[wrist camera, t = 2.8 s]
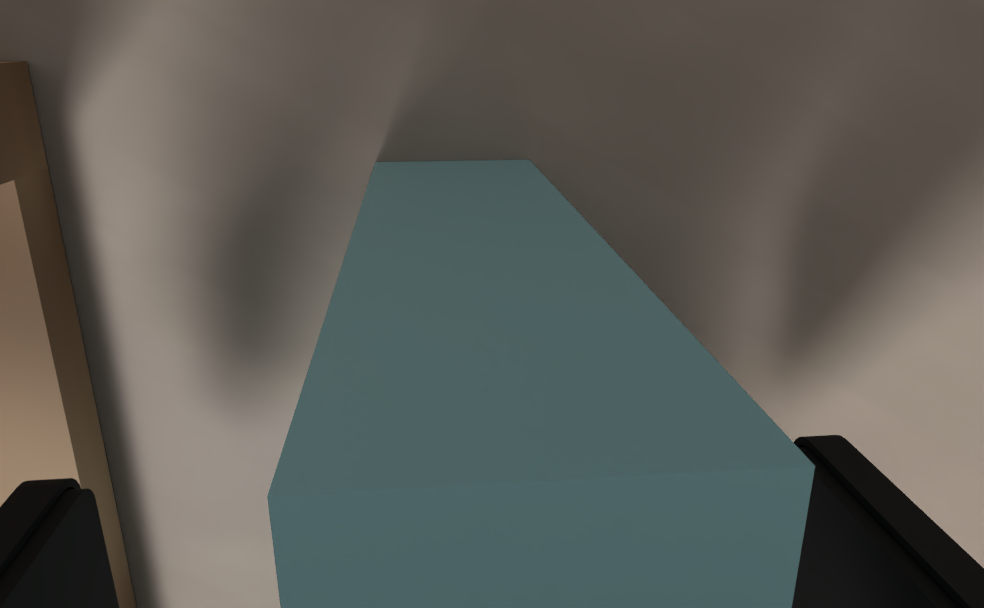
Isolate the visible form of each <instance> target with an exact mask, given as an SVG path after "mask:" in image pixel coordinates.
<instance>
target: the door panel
mask: <svg viewBox="0 0 984 608" xmlns="http://www.w3.org/2000/svg"><path fill="white" fill-rule="evenodd" d="M814 470H815V465H814V464H813V463H812V462H811V461H810V460H809V459H808V458H807V457H806V456H805V455H804V454H803V452H802V451H801V450H800V449H799V448H798V447H797V446H796V445H795V444H794V443H793V442H792V441H791V440H790V439H789V437H788V436H787V435H786V434H785V433H784V432H783V431H782V430H781V429H780V428H779V427H778V426H777V425H776V424H775V422H774V421H773V420H772V419H771V418H770V417H769V416H768V415H767V414H766V413H765V412H764V411H763V410H762V409H761V407H760V406H759V405H758V404H757V403H756V402H755V401H754V400H753V399H752V398H751V397H750V396H749V395H748V394H747V392H746V391H745V390H744V389H743V388H742V387H741V386H740V385H739V384H738V383H737V382H736V381H735V380H734V379H733V377H732V376H731V375H730V374H729V373H728V372H727V371H726V370H725V369H724V368H723V367H722V366H721V365H720V364H719V362H718V361H717V360H716V359H715V358H714V357H713V356H712V355H711V354H710V353H709V352H708V351H707V350H706V349H705V347H704V346H703V345H702V344H701V343H700V342H699V341H698V340H697V339H696V338H695V337H694V336H693V335H692V334H691V332H690V331H689V330H688V329H687V328H686V327H685V326H684V325H683V324H682V323H681V322H680V321H679V320H678V318H677V317H676V316H675V315H674V314H673V313H672V312H671V311H670V310H669V309H668V308H667V307H666V306H665V305H664V303H663V302H662V301H661V300H660V299H659V298H658V297H657V296H656V295H655V294H654V293H653V292H652V291H651V290H650V288H649V287H648V286H647V285H646V284H645V283H644V282H643V281H642V280H641V279H640V278H639V277H638V276H637V275H636V273H635V272H634V271H633V270H632V269H631V268H630V267H629V266H628V265H627V264H626V263H625V262H624V261H623V260H622V258H621V257H620V256H619V255H618V254H617V253H616V252H615V251H614V250H613V249H612V248H611V247H610V246H609V245H608V243H607V242H606V241H605V240H604V239H603V238H602V237H601V236H600V235H599V234H598V233H597V232H596V231H595V230H594V228H593V227H592V226H591V225H590V224H589V223H588V222H587V221H586V220H585V219H584V218H583V217H582V216H581V215H580V213H579V212H578V211H577V210H576V209H575V208H574V207H573V206H572V205H571V204H570V203H569V202H568V201H567V200H566V198H565V197H564V196H563V195H562V194H561V193H560V192H559V191H558V190H557V189H556V188H555V187H554V186H553V185H552V183H551V182H550V181H549V180H548V179H547V178H546V177H545V176H544V175H543V174H542V173H541V172H540V171H539V169H538V168H537V167H536V166H535V165H534V164H533V163H532V162H531V161H530V160H471V161H409V162H375V165H374V168H373V171H372V174H371V177H370V180H369V183H368V186H367V189H366V193H365V196H364V199H363V202H362V205H361V208H360V211H359V214H358V217H357V220H356V224H355V227H354V230H353V233H352V236H351V239H350V242H349V245H348V248H347V251H346V255H345V258H344V261H343V264H342V267H341V270H340V273H339V276H338V279H337V282H336V286H335V289H334V292H333V295H332V298H331V301H330V304H329V307H328V310H327V313H326V317H325V320H324V323H323V326H322V329H321V332H320V335H319V338H318V341H317V344H316V348H315V351H314V354H313V357H312V360H311V363H310V366H309V369H308V372H307V375H306V379H305V382H304V385H303V388H302V391H301V394H300V397H299V400H298V403H297V406H296V410H295V413H294V416H293V419H292V422H291V425H290V428H289V431H288V434H287V437H286V441H285V444H284V447H283V450H282V453H281V456H280V459H279V462H278V465H277V468H276V472H275V475H274V478H273V481H272V484H271V487H270V490H269V493H268V496H267V497H268V505H269V514H270V522H271V530H272V539H273V547H274V555H275V564H276V572H277V580H278V589H279V597H280V605H281V608H792V603H793V597H794V591H795V585H796V579H797V573H798V567H799V561H800V555H801V549H802V543H803V537H804V531H805V525H806V519H807V512H808V506H809V500H810V494H811V488H812V482H813V476H814Z"/></svg>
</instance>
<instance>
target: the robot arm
mask: <svg viewBox="0 0 984 608" xmlns="http://www.w3.org/2000/svg"><path fill="white" fill-rule="evenodd" d="M794 444H795V445H796V446H797V447H798V448H799V449H800V450H801V451H802V452H803V454H804V455H805V456H806V457H807V458H808V459H809V460H810V461H811V462H812V463H813V464H814V465H815V470H814V476H813V482H812V488H811V494H810V500H809V506H808V512H807V519H806V525H805V531H804V537H803V543H802V549H801V555H800V561H799V567H798V573H797V579H796V585H795V591H794V597H793V603H792V608H984V568H983V567H982V566H980V565H979V564H978V563H977V562H976V561H975V560H974V559H973V558H972V557H971V556H970V555H969V554H968V553H967V552H966V551H964V550H963V549H962V548H961V547H960V546H959V545H958V544H957V543H956V542H955V541H954V540H953V539H952V538H951V537H950V536H949V535H947V534H946V533H945V532H944V531H943V530H942V529H941V528H940V527H939V526H938V525H937V524H936V523H935V522H934V521H933V520H931V519H930V518H929V517H928V516H927V515H926V514H925V513H924V512H923V511H922V510H921V509H920V508H919V507H918V506H917V505H915V504H914V503H913V502H912V501H911V500H910V499H909V498H908V497H907V496H906V495H905V494H904V493H903V492H902V491H901V490H900V489H898V488H897V487H896V486H895V485H894V484H893V483H892V482H891V481H890V480H889V479H888V478H887V477H886V476H885V475H884V474H882V473H881V472H880V471H879V470H878V469H877V468H876V467H875V466H874V465H873V464H872V463H871V462H870V461H869V460H868V459H867V458H865V457H864V456H863V455H862V454H861V453H860V452H859V451H858V450H857V449H856V448H855V447H854V446H853V445H852V444H851V443H849V442H848V441H847V440H846V439H845V438H843V437H842V436H840V435H827V436H810V437H799V438H797V439H796V440H795V441H794ZM0 608H119V604H118V599H117V595H116V590H115V585H114V581H113V576H112V572H111V567H110V563H109V558H108V553H107V549H106V544H105V540H104V535H103V530H102V526H101V521H100V517H99V512H98V507H97V503H96V499H95V495H94V493H93V492H92V490H90V489H88V488H87V489H81V487H80V484H79V483H78V482H77V480H75V479H73V478H64V479H46V480H29V481H24V482H22V483H21V484H20V485H19V486H18V487H17V488H16V489H15V490H14V491H13V492H12V494H11V495H10V496H9V497H8V498H7V500H6V501H5V502H4V503H3V504H2V505H1V507H0Z"/></svg>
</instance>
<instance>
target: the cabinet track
mask: <svg viewBox="0 0 984 608" xmlns="http://www.w3.org/2000/svg"><path fill="white" fill-rule="evenodd" d="M64 478H73V479H75V480H77V482H78V483H79V484H80V487H81V489H87V488H88V489H90V490H92V492H93V493H94V495H95V499H96V503H97V507H98V512H99V517H100V521H101V526H102V530H103V535H104V540H105V544H106V549H107V553H108V558H109V563H110V567H111V572H112V576H113V581H114V585H115V590H116V595H117V599H118V604H119V608H137V607H136V602H135V597H134V592H133V587H132V582H131V577H130V572H129V567H128V562H127V557H126V552H125V547H124V542H123V537H122V532H121V527H120V523H119V518H118V513H117V508H116V503H115V498H114V493H113V488H112V483H111V478H110V473H109V468H108V463H107V458H106V453H105V448H104V443H103V438H102V433H101V428H100V423H99V418H98V413H97V408H96V403H95V398H94V393H93V388H92V383H91V378H90V373H89V368H88V363H87V359H86V354H85V349H84V344H83V339H82V334H81V329H80V324H79V319H78V314H77V309H76V304H75V299H74V294H73V289H72V284H71V279H70V274H69V269H68V264H67V259H66V254H65V249H64V244H63V239H62V234H61V229H60V224H59V219H58V214H57V209H56V204H55V199H54V194H53V190H52V185H51V180H50V175H49V170H48V165H47V160H46V155H45V150H44V145H43V140H42V135H41V130H40V125H39V120H38V115H37V110H36V105H35V100H34V95H33V90H32V85H31V80H30V75H29V70H28V65H27V61H6V62H0V507H1V505H2V504H3V503H4V502H5V501H6V500H7V498H8V497H9V496H10V495H11V494H12V492H13V491H14V490H15V489H16V488H17V487H18V486H19V485H20V484H21V483H22V482H24V481H29V480H46V479H64Z"/></svg>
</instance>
